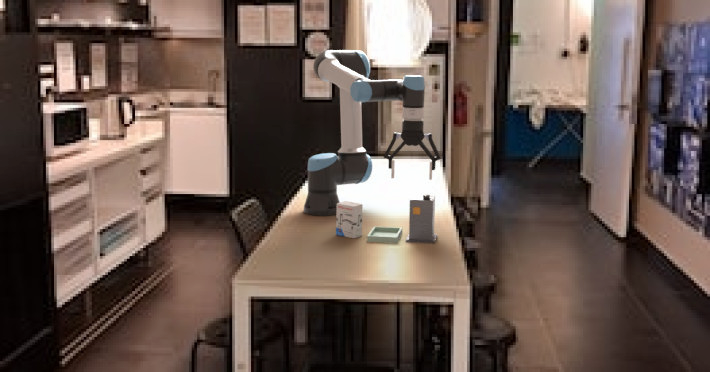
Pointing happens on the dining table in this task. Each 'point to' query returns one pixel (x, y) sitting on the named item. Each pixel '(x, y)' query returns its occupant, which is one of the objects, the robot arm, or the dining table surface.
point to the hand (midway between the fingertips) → (411, 178)
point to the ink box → (349, 219)
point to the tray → (384, 234)
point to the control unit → (422, 219)
